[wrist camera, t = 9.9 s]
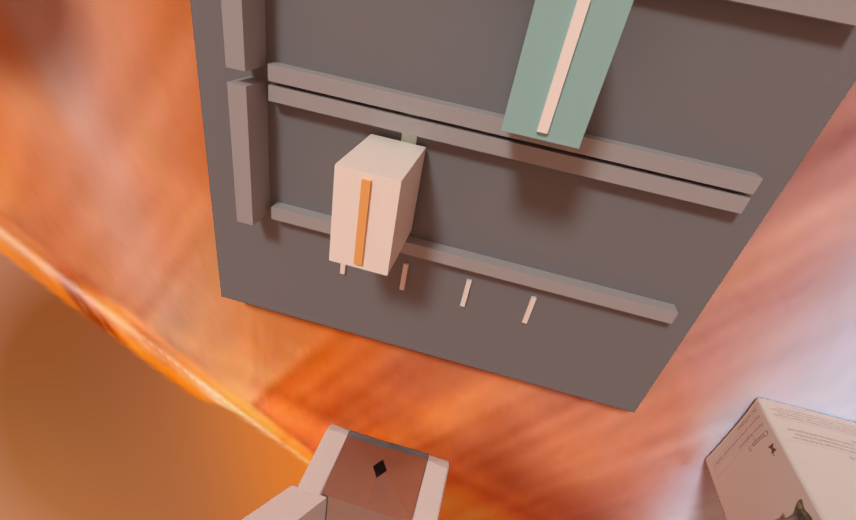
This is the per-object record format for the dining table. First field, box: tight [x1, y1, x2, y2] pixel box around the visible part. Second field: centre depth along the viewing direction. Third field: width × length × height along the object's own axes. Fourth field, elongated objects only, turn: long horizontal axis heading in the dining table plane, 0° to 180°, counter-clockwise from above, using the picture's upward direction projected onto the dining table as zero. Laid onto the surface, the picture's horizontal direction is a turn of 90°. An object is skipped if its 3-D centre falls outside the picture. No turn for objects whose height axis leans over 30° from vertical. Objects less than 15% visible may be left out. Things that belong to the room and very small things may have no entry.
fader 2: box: [501, 0, 634, 149], centre depth 17 cm, size 3×5×5 cm, turn 170°
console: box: [190, 0, 856, 412], centre depth 24 cm, size 30×24×4 cm
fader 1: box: [329, 134, 426, 276], centre depth 22 cm, size 3×5×5 cm, turn 170°
